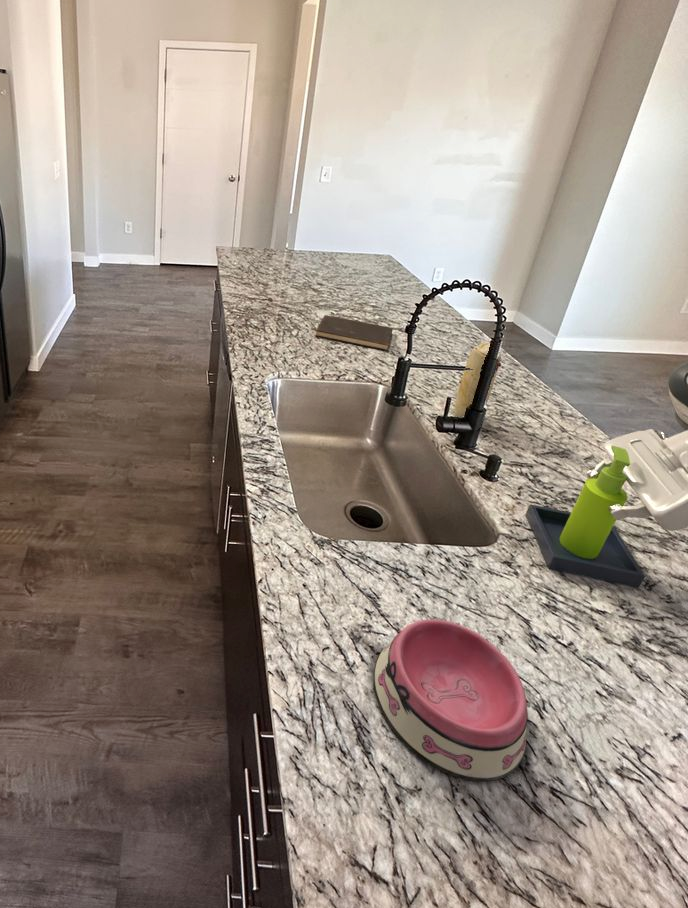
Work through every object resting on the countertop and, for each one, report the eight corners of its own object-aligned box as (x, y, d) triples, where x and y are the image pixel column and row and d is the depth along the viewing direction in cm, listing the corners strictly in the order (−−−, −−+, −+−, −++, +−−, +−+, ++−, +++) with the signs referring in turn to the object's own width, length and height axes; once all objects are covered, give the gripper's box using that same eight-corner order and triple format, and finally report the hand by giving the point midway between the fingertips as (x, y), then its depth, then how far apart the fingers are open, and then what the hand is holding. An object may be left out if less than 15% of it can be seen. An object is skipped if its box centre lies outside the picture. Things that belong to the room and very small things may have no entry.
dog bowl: (352, 641, 79) (361, 609, 76) (472, 636, 81) (485, 605, 78) (410, 787, 63) (424, 754, 60) (559, 778, 64) (580, 745, 61)
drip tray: (604, 531, 102) (610, 519, 101) (638, 588, 90) (645, 576, 89) (525, 515, 105) (529, 504, 104) (548, 568, 93) (553, 556, 92)
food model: (484, 430, 132) (509, 357, 123) (454, 424, 133) (477, 352, 125) (477, 410, 140) (500, 340, 131) (449, 405, 142) (470, 336, 133)
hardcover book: (387, 351, 170) (388, 344, 169) (314, 336, 179) (315, 330, 178) (391, 333, 184) (393, 327, 183) (324, 320, 192) (325, 314, 191)
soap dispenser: (595, 538, 99) (640, 450, 90) (599, 564, 93) (647, 472, 85) (558, 526, 101) (598, 438, 93) (560, 549, 96) (602, 459, 87)
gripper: (649, 413, 94) (567, 448, 101) (721, 487, 77) (615, 523, 83) (668, 439, 95) (585, 471, 102) (743, 517, 77) (637, 551, 84)
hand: (599, 495), depth 92 cm, fingers open, 8 cm apart
